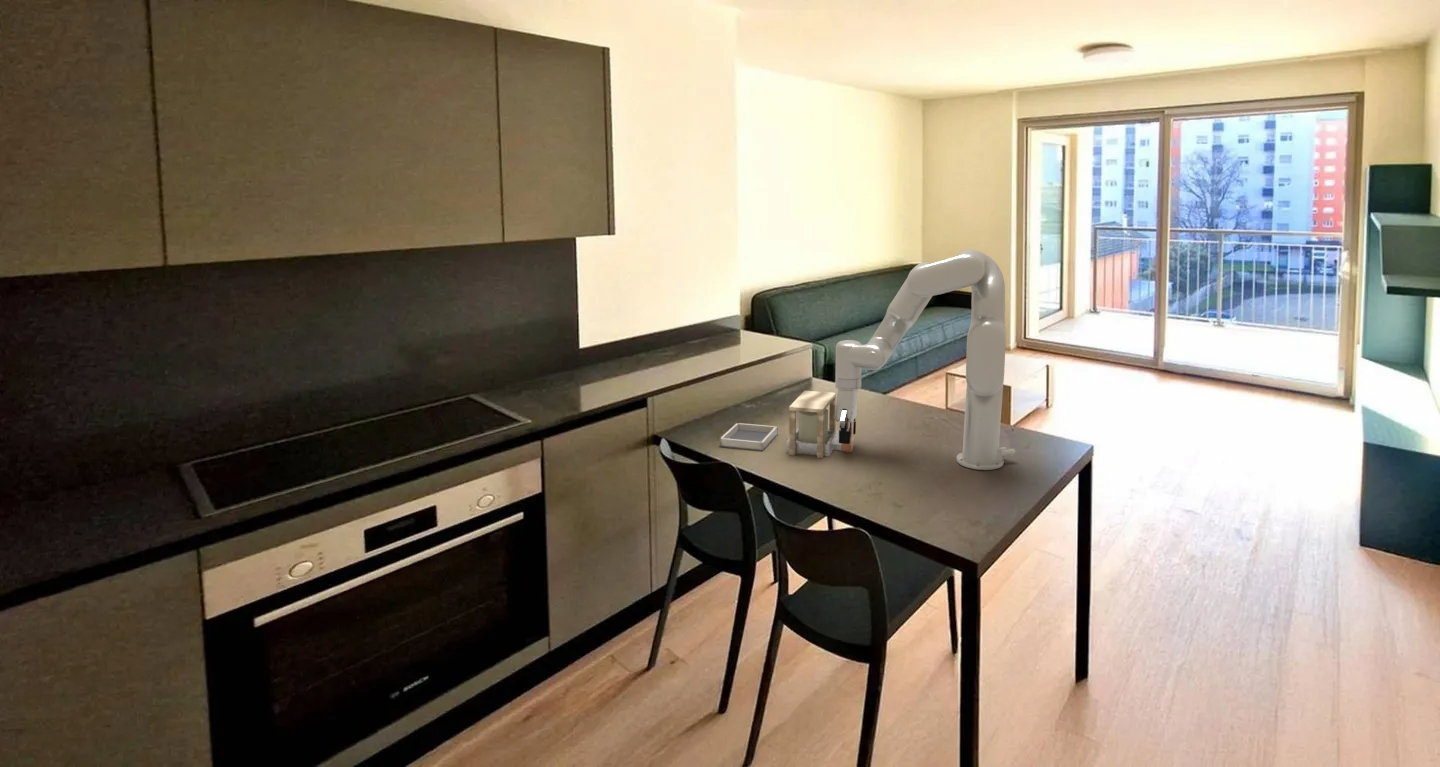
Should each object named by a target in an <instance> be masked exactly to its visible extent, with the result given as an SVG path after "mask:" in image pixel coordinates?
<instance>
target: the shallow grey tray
mask: <svg viewBox="0 0 1440 767" xmlns="http://www.w3.org/2000/svg"><path fill="white" fill-rule="evenodd" d="M846 420H847V419H846ZM847 421H848V420H847ZM853 423H854V420H853V421H852V422H851V423H850V427H849V431H850V443H849V444H842V443H839V429H835V430H829V429H828V442H827V444H824V457H830V456H831V454H832V453H833V450H834V451H841V452H847V453H848V452H849V453H851V452H853V449H854V434H853ZM845 424H846V425H847V423H845ZM798 440H799V427H798V426H797V427H796V454H801V455H810V456H817V443H812V442H801V441H798ZM785 442H786V443H785V445H786V448H785V449H786V453H789V438H787V440H786V441H785Z"/></svg>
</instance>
